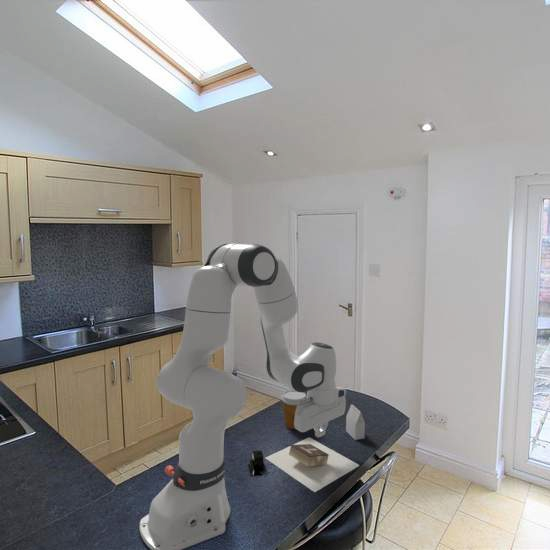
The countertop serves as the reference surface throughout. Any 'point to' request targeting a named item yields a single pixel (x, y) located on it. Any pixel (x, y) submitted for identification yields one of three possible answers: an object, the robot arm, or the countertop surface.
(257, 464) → the black mounting plate
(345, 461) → the felt mat
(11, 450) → the countertop surface
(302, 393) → the disposable coffee cup
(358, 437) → the grey angular block
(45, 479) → the countertop surface
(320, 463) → the letter block
